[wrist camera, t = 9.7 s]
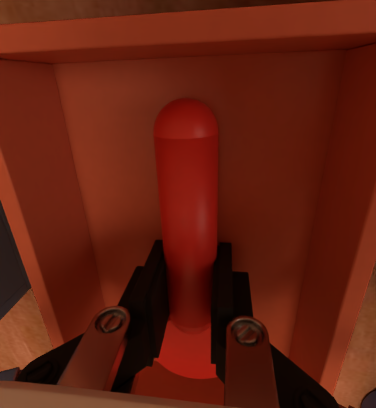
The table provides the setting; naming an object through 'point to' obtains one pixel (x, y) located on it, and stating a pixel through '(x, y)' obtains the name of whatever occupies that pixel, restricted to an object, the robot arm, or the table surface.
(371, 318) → the table surface
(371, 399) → the blue spoon
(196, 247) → the red spoon
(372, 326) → the table surface
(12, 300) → the blue bin
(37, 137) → the red bin
